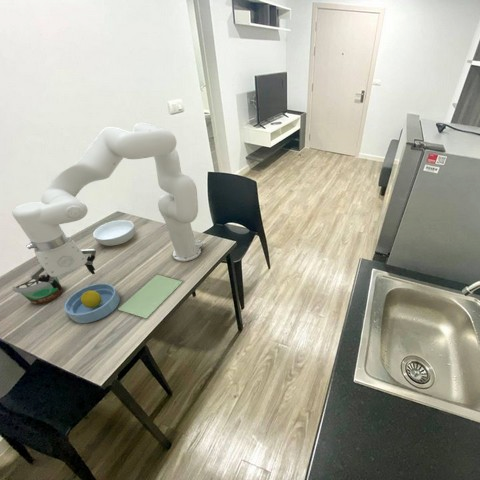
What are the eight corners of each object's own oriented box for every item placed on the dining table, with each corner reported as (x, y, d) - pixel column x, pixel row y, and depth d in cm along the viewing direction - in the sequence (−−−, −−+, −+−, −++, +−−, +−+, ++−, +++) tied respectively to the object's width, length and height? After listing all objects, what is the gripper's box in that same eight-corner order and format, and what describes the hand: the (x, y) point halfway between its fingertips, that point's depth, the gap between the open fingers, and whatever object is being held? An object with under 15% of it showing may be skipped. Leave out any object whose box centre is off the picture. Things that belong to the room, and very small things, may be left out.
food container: (33, 312, 96) (16, 294, 90) (26, 305, 98) (10, 286, 93) (73, 292, 105) (60, 274, 99) (66, 285, 107) (53, 267, 101)
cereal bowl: (116, 228, 140) (111, 217, 136) (145, 233, 139) (141, 222, 134) (90, 248, 126) (83, 236, 122) (122, 253, 125) (116, 241, 121)
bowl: (113, 286, 109) (108, 277, 106) (125, 307, 101) (120, 298, 98) (66, 306, 99) (60, 297, 96) (76, 331, 92) (69, 322, 89)
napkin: (157, 275, 115) (156, 274, 115) (182, 282, 113) (182, 281, 113) (117, 309, 100) (117, 309, 100) (146, 318, 98) (146, 318, 97)
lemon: (96, 313, 97) (86, 299, 93) (83, 310, 98) (72, 296, 93) (108, 302, 102) (99, 288, 97) (96, 299, 102) (86, 285, 98)
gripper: (17, 259, 73) (49, 300, 83) (88, 233, 86) (109, 271, 96) (7, 249, 76) (39, 289, 86) (78, 225, 89) (99, 262, 99)
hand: (76, 280), depth 91 cm, fingers open, 9 cm apart
